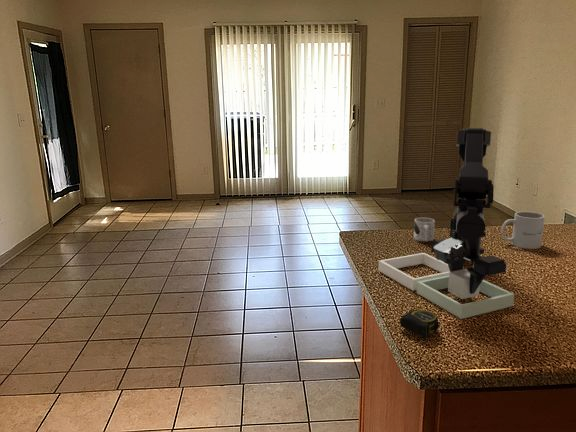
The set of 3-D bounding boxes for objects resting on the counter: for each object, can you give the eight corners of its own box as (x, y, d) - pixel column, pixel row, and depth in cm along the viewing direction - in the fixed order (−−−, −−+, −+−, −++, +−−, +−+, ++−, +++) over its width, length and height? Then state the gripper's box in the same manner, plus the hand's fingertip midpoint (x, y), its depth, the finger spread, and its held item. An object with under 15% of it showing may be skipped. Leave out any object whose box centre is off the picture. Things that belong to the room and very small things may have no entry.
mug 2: (538, 241, 158) (541, 212, 156) (543, 249, 150) (547, 219, 148) (498, 238, 162) (501, 210, 159) (500, 246, 154) (504, 216, 151)
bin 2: (464, 282, 126) (465, 271, 125) (512, 305, 112) (514, 294, 111) (416, 292, 120) (417, 281, 119) (461, 318, 106) (462, 306, 105)
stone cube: (463, 287, 119) (465, 268, 117) (478, 295, 114) (480, 275, 113) (447, 291, 117) (449, 272, 116) (462, 299, 112) (464, 279, 111)
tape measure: (397, 329, 102) (398, 313, 101) (419, 320, 106) (420, 305, 105) (422, 343, 97) (423, 326, 96) (444, 333, 100) (445, 316, 99)
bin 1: (423, 262, 141) (423, 252, 140) (461, 280, 127) (461, 270, 126) (378, 270, 135) (378, 260, 134) (413, 290, 121) (413, 279, 120)
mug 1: (412, 235, 167) (413, 217, 165) (432, 236, 166) (433, 217, 164) (415, 244, 157) (416, 225, 156) (436, 245, 156) (438, 225, 155)
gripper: (415, 221, 117) (412, 281, 121) (472, 243, 100) (466, 311, 104) (451, 216, 121) (447, 274, 125) (511, 236, 104) (504, 301, 108)
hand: (463, 289), depth 115 cm, fingers closed on stone cube, 5 cm apart
